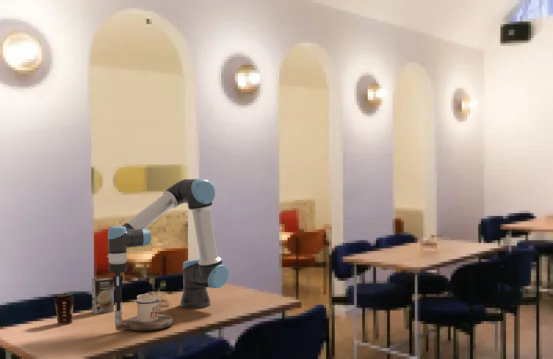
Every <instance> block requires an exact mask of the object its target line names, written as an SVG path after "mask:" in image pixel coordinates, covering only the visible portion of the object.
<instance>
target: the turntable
mask: <svg viewBox="0 0 553 359" xmlns="http://www.w3.org/2000/svg"><path fill="white" fill-rule="evenodd" d="M157 314H158V313H157ZM125 322H126V323H125ZM125 322H124V323H123V309H122V310H120V311H117V310H116V311H115V310H114V326H115V331H121V330H127V329H128V330H134V331H140V330H151V331H156V330H155V329H158V330H161V329H164V328H168V327H170V326H172V325H173V322H174V319H173V317H172V316H171V315H167V314H160V313H159V314H158V319H157V320H156V321H154V322H147V323H143V322H138V320H137V315H136V316H133V317H129V318H128V319H126V320H125Z"/></svg>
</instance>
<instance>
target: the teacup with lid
mask: <svg viewBox="0 0 553 359" xmlns="http://www.w3.org/2000/svg"><path fill="white" fill-rule="evenodd" d="M144 294H145V296H143V297H142V298H140V299H138V300H137V299H136V310H137V311H136V312H137V313H136V316H137V320H138V322H143V323H147V322H154V321H156V320H157V319H158V311H157V309H158V302H159V301H158V300H157V298H154V297H152V296H149V294H150V293H147V292H146V293H144Z"/></svg>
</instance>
